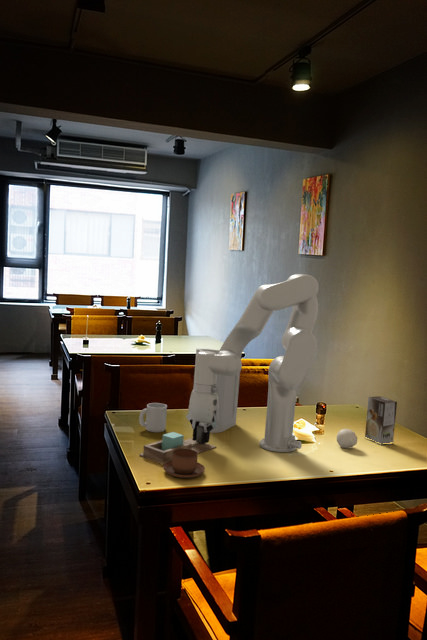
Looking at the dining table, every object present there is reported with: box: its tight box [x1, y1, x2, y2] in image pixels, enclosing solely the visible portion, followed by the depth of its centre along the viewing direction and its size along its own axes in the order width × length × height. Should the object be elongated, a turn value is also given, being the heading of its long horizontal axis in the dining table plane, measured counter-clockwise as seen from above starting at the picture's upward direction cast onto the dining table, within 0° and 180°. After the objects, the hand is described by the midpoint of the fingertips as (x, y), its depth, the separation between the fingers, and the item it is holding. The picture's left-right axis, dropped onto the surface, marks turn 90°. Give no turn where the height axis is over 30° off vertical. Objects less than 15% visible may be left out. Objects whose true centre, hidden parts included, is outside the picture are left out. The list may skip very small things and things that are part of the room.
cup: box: [138, 402, 168, 433], centre depth 196 cm, size 7×10×9 cm
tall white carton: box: [194, 348, 242, 434], centre depth 209 cm, size 19×15×28 cm
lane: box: [138, 437, 217, 466], centre depth 175 cm, size 25×11×3 cm, turn 142°
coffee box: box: [364, 396, 398, 444], centre depth 203 cm, size 9×6×16 cm
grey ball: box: [336, 428, 358, 449], centre depth 192 cm, size 7×7×7 cm
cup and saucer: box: [163, 449, 206, 479], centre depth 157 cm, size 12×12×6 cm
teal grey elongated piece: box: [161, 425, 204, 451], centre depth 178 cm, size 19×4×6 cm, turn 142°
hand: (200, 440), depth 184 cm, fingers closed on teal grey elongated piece, 3 cm apart
